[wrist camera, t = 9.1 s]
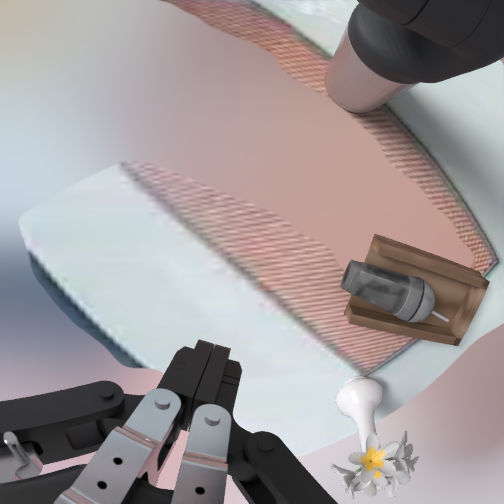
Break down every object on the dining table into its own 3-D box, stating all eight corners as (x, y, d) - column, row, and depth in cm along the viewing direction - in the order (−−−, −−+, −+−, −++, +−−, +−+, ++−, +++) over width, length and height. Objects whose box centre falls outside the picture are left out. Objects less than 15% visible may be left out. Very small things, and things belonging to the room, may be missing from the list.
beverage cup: (355, 243, 43) (457, 286, 39) (338, 282, 46) (436, 319, 43) (355, 263, 37) (469, 310, 33) (335, 306, 40) (444, 345, 36)
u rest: (374, 233, 41) (382, 240, 38) (479, 271, 41) (490, 279, 37) (343, 313, 46) (348, 325, 42) (448, 336, 45) (456, 347, 41)
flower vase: (357, 420, 53) (373, 514, 29) (305, 381, 51) (308, 495, 27) (406, 389, 49) (441, 482, 26) (361, 343, 47) (396, 457, 23)
